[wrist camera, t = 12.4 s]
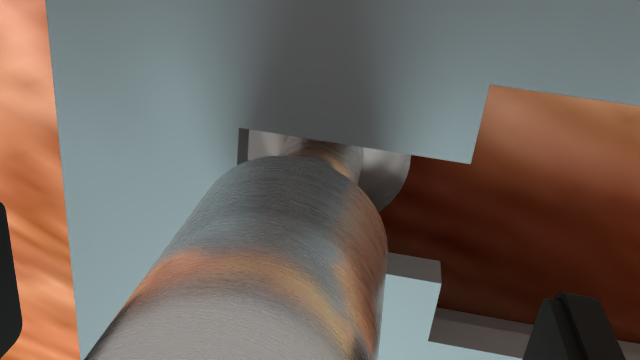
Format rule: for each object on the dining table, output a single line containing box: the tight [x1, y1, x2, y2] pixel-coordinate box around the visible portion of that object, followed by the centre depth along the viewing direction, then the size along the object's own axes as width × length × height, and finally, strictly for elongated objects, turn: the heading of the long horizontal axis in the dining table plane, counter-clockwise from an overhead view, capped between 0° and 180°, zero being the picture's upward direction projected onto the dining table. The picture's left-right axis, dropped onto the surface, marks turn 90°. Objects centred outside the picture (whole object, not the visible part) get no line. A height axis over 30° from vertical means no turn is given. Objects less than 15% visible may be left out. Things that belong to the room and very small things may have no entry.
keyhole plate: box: [45, 0, 640, 360], centre depth 16 cm, size 18×16×5 cm
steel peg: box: [84, 129, 411, 360], centre depth 12 cm, size 5×5×13 cm
